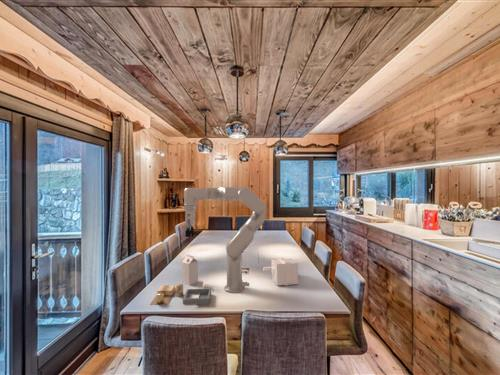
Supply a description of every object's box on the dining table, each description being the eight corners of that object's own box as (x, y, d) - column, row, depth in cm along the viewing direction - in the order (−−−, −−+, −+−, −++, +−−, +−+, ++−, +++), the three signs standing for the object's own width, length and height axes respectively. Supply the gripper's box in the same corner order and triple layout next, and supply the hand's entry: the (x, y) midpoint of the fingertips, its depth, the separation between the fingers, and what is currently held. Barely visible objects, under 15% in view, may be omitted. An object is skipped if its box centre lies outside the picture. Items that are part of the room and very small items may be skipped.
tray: (211, 294, 155) (211, 288, 155) (209, 305, 141) (209, 298, 141) (187, 295, 154) (187, 289, 154) (182, 306, 140) (182, 299, 140)
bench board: (177, 289, 162) (177, 287, 162) (168, 306, 139) (168, 304, 139) (161, 289, 162) (161, 288, 161) (149, 307, 139) (149, 305, 139)
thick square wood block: (174, 290, 158) (174, 285, 158) (171, 295, 150) (171, 290, 150) (161, 290, 158) (161, 285, 158) (157, 296, 150) (157, 291, 150)
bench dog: (164, 301, 143) (164, 292, 143) (162, 304, 139) (162, 295, 139) (157, 301, 143) (157, 292, 143) (155, 304, 139) (155, 295, 139)
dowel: (183, 295, 153) (183, 283, 153) (182, 298, 149) (182, 286, 149) (176, 295, 153) (176, 284, 153) (175, 298, 149) (175, 286, 149)
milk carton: (191, 281, 176) (190, 253, 175) (197, 283, 171) (197, 255, 171) (182, 284, 170) (182, 255, 170) (189, 287, 166) (188, 257, 165)
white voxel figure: (292, 273, 195) (306, 284, 168) (260, 275, 191) (269, 287, 164) (292, 253, 196) (306, 261, 169) (260, 255, 192) (268, 263, 165)
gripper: (194, 209, 153) (193, 238, 153) (198, 206, 170) (197, 232, 170) (181, 208, 152) (180, 238, 152) (186, 206, 169) (185, 232, 169)
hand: (189, 235), depth 161 cm, fingers open, 9 cm apart
